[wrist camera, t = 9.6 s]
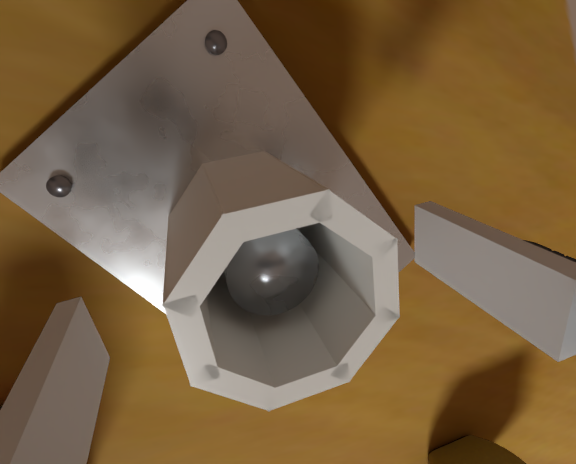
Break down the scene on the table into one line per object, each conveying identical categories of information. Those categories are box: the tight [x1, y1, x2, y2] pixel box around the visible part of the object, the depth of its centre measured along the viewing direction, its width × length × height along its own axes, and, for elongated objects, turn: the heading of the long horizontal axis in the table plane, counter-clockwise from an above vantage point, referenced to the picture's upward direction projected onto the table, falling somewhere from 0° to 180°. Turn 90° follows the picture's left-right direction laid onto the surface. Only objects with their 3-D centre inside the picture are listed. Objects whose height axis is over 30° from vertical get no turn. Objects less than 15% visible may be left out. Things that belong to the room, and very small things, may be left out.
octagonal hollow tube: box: [162, 151, 400, 411], centre depth 16 cm, size 8×8×9 cm
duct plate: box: [0, 0, 415, 315], centre depth 18 cm, size 20×14×7 cm
